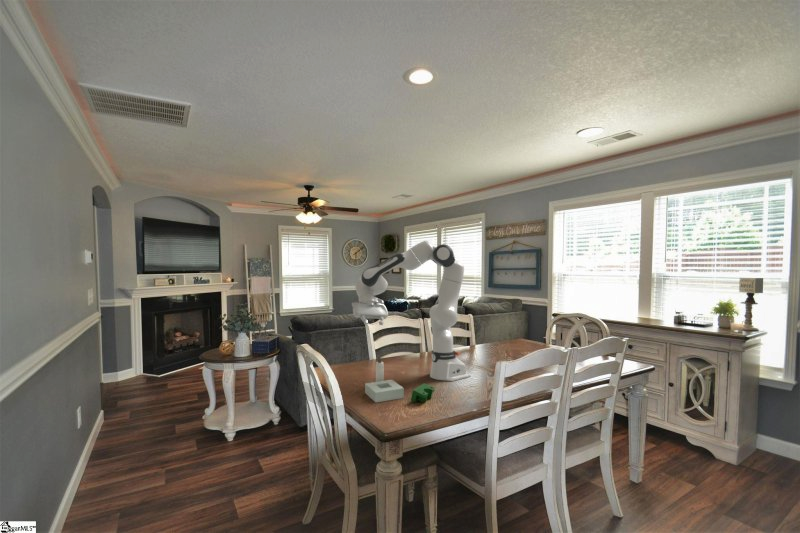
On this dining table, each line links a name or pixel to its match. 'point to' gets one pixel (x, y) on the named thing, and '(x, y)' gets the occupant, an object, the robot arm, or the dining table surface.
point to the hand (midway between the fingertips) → (374, 324)
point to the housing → (384, 390)
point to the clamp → (422, 393)
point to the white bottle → (379, 370)
